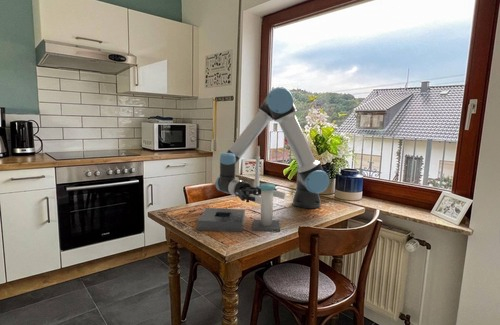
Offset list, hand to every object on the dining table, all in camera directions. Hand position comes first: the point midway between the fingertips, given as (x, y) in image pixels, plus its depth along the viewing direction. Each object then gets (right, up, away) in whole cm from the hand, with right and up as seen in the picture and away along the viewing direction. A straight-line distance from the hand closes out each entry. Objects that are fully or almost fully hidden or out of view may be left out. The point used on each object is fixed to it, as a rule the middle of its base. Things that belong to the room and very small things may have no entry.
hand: (273, 198), depth 123 cm
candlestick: (-6, -5, +63) cm, 63 cm away
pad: (-3, -13, +4) cm, 13 cm away
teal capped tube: (-3, -11, +4) cm, 12 cm away
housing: (-22, -12, +6) cm, 25 cm away
